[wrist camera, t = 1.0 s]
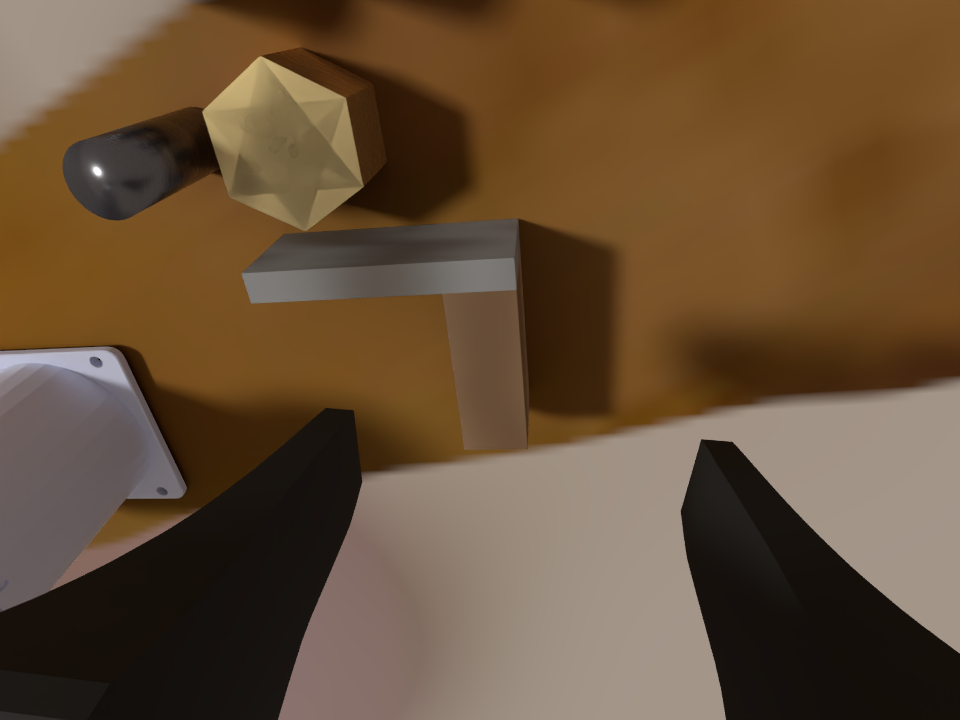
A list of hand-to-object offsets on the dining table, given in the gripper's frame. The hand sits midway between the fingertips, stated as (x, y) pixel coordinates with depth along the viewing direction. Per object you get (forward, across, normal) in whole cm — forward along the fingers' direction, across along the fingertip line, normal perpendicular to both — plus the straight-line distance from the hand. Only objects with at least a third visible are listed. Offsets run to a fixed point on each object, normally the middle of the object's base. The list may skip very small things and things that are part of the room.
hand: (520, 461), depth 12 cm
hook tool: (+10, +4, +2) cm, 11 cm away
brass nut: (+10, +7, -4) cm, 13 cm away
